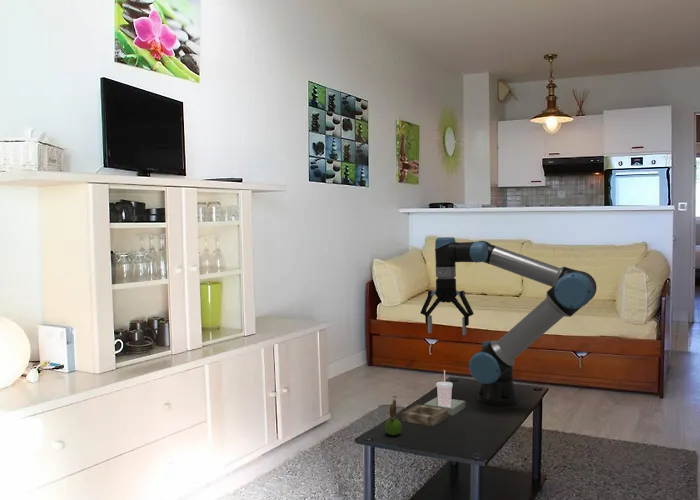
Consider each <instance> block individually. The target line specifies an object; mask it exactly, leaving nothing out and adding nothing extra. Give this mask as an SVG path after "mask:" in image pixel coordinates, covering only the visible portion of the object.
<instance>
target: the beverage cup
mask: <svg viewBox="0 0 700 500" xmlns="http://www.w3.org/2000/svg"><path fill="white" fill-rule="evenodd" d="M435 386H436V389H437V397H438V406H445V407H451V399H452V393H453V391H452V390H453V386H454V385H453V382H450V381H446V370H445V369H443V381H439V382H438V381H437V382H436V384H435Z"/></svg>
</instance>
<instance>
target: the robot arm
mask: <svg viewBox="0 0 700 500" xmlns="http://www.w3.org/2000/svg"><path fill="white" fill-rule="evenodd" d="M434 243H435V245H434V247H435V248H434V252H435V253H434V256H435V277H436V279H435V290H433V289H430V290H428V292H427V297H426V299H425V302H424V304H423V306H422V308H421V311H420V313H419V314H420V315H423V316H425V317H424V320H425V321H424V322H425V325H427V333H428V334H432V333H433V315H431V313H432V312H433V311H434V310H435V309H436V308H437V307H438V305H439V304H440V303H448V304H449V303H452V304H453V305H454V306H455V307H456V309H457V310H458V311H459V312H460V313H461V314H462V316H463V317H462V318H461V323H462V327H461V328H462V336H465V335H467V327H468V326H469V324H470V320H469V319H470V317H472V316H474V311H473V309H472V306H471V304H470V303H469V301H468V299H467V297H466V293H465V290H461V291H457V279H456V276H457V269H456V266H457V265H456V263H476V264H477V263H484V264H488V265H490V266H494V267H497V268H499V269H503V270H505V271H508V272H510V273H513V274H516V275H518V276H520V277H521V276H522V277H524V278H526V279H529V280H532V281H535V282H538V283H540V284H544V285H546V286H549V287H550V288H549V289H548V290H547V291H546V295H545V296H546V297H545V298H544V300H543V301H541V302H539V304H538V305H537V306H536V307H534V308H533V309H532V310H531V311H530V312H529V313H528V314H527V315H526V316H524V317H523V318H522V319H521V320H519V322H518V323H516V324H515V325H514V326H513V327H512V328H511V329H510V330H508V331H507V332H506V333H505V334H504V335H503V336H502V337H501V338H499V340H494V339H493V340H490V341H489V340H488V341H487V340H486V341H482V344H481V345H482V346H481V349H480V350H479V351H478V352H476V353H474V354H473V355H472V356H471V358H470V359H469V363H468V368H469V369H468V370H469V373H470V375H471V376H472V378H473V379H474V380H475V381H476V382H477V383H480V386H479V389H478V392H477V401H478V402H479V403H482V404H485V405H491V406H498V407H499V406H512V405H515V404H517V403H518V401H519V399H518V397H519V396H518V394H517V391H516V386H515V384H514V366H515V359H517V357H518V356H520V355H521V354H522V353H523V352H524V351H525V350H527V349H528V348H529V347H530V346H531V345H533V344H534V343H535V342H536V341H537V340H538V339H539V338H541V337H542V336H543V335H545V333H546V332H548V331H549V330H550V329H551V328H552V327H553V326H555V325H556V324H557V323H558V322H559V321H560V320H561V319H563V318H564V317H566V318H567V317H568V318H569V317H570V318H571V317H573V316H574V315H575V314H576V313H577V312H578V311H579V310H580V309H582V307H585V306H586V305H587V304H588V303H590V301H591V300H593V298H594V297H595V295H596V293H597V282H596V280H595V278H594V277H593V276H592V275H591V274H589V273H588V272H586V271H583V270H582V271H581V270H577V269H573V268H569V267H568V266H567V267H566V266H561V267H558V266H556V265H552V264H549V263H547V262H544V261H542V260H538V259H535V258H532V257H529V256H526V255H523V254H520V253H519V252H518V253H517V252H515V251H511V250H508V249H506V248H503V247H500V246H497V245H494V244H491V243H490V242H489V241H485V240H478V241H467V242H465V241H464V242H462V241H461V242H458V241H456V238H455V237H448V236H447V237H436V239H435V242H434ZM434 296H436V299H435V300H434V302H433V303H432V305H431V306H430V307H429V305H430V303H431V301H432V299H433V297H434ZM457 296H458V297H459V298H460V300H461V302H462V304H463V306H462V304H461V303H460V302H459V300H458V299H457Z"/></svg>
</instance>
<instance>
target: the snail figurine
mask: <svg viewBox="0 0 700 500" xmlns="http://www.w3.org/2000/svg"><path fill="white" fill-rule="evenodd" d="M392 398H393V400H392V403H391V404H390V407H389V416H390V418H388V419H387V420H386V422H385V424H384V430H385V432H386V434H388V435H389V436H397V435H399V434H400V433H401V431H402V423H401V421H400V420H399V419H398V418H396V416H397V395H392Z"/></svg>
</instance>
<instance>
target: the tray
mask: <svg viewBox="0 0 700 500" xmlns="http://www.w3.org/2000/svg"><path fill="white" fill-rule="evenodd" d="M423 405H424V406H430V407H437V408H443V409H448V416H455V415H456V414H458V413H459V412H462V410H464V409H465V408H466V400H461V399H453V398H451V407H445V406H438V396H436V397H434V398H433V399H431V400H429V401H426V402H425V403H424V404H423Z"/></svg>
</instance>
